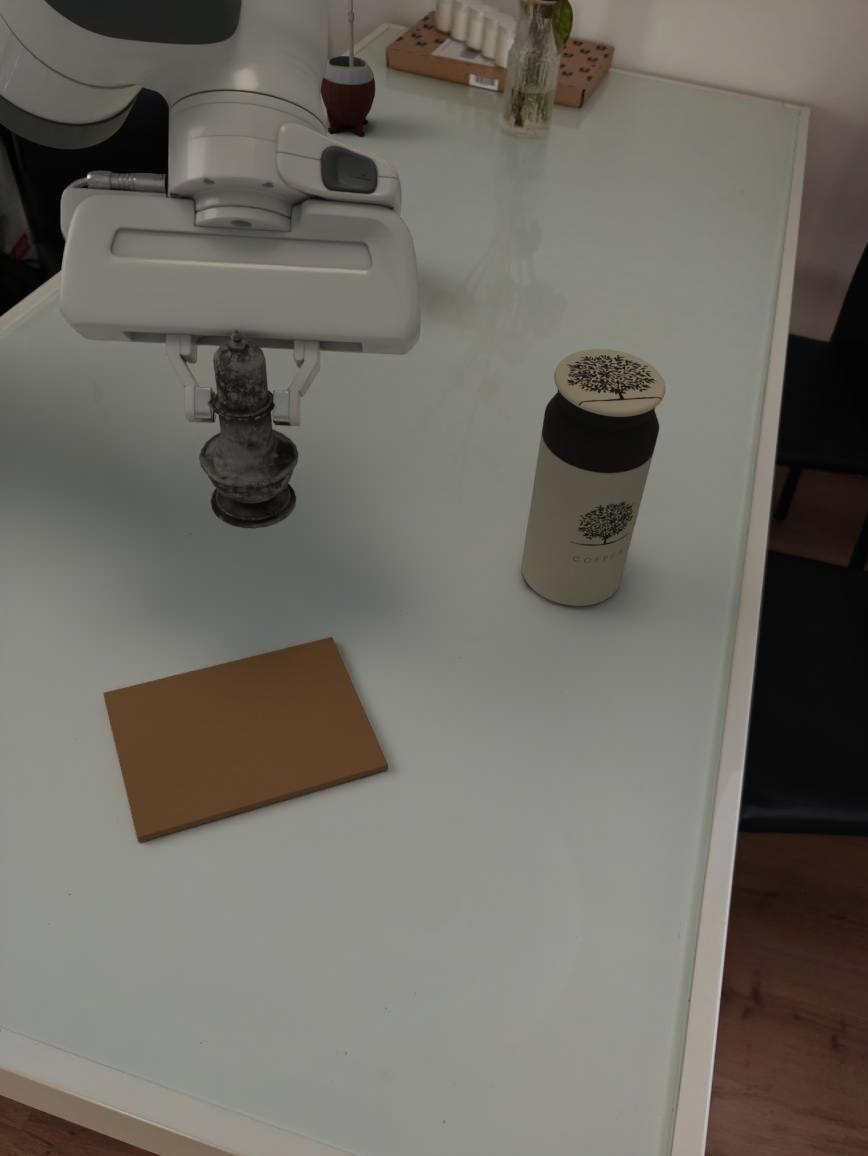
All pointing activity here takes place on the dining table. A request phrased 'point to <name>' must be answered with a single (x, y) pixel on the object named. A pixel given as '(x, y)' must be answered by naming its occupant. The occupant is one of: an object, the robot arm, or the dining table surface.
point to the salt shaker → (247, 443)
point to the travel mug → (590, 475)
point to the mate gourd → (348, 89)
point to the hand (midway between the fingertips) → (244, 423)
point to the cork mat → (239, 736)
